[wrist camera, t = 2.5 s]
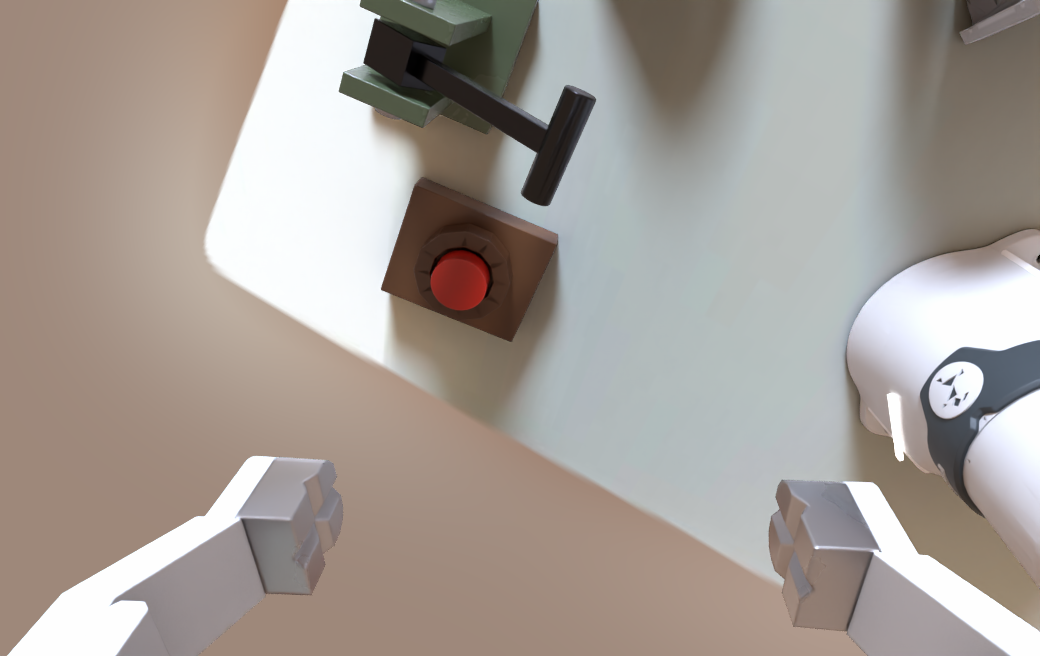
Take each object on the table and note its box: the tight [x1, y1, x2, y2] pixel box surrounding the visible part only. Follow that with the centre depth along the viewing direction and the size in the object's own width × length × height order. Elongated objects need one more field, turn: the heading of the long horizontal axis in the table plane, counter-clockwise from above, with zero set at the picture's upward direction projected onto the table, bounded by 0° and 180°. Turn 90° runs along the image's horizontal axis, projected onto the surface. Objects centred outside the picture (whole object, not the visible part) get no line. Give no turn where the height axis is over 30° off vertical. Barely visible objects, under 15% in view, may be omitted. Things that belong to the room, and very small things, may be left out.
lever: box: [363, 18, 596, 206], centre depth 29 cm, size 12×5×2 cm
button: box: [431, 250, 490, 310], centre depth 45 cm, size 4×4×2 cm
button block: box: [381, 177, 558, 342], centre depth 47 cm, size 11×9×4 cm
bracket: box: [339, 0, 538, 134], centre depth 36 cm, size 9×9×14 cm
